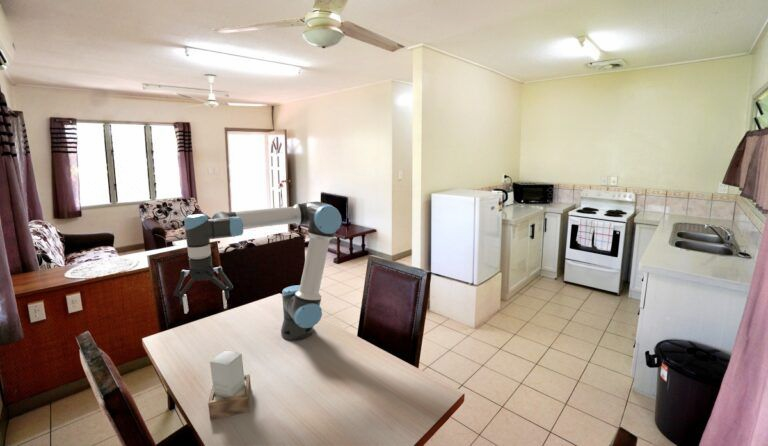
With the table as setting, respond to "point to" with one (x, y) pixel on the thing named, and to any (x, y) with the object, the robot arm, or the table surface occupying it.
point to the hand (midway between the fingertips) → (206, 309)
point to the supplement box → (227, 374)
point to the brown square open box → (230, 402)
